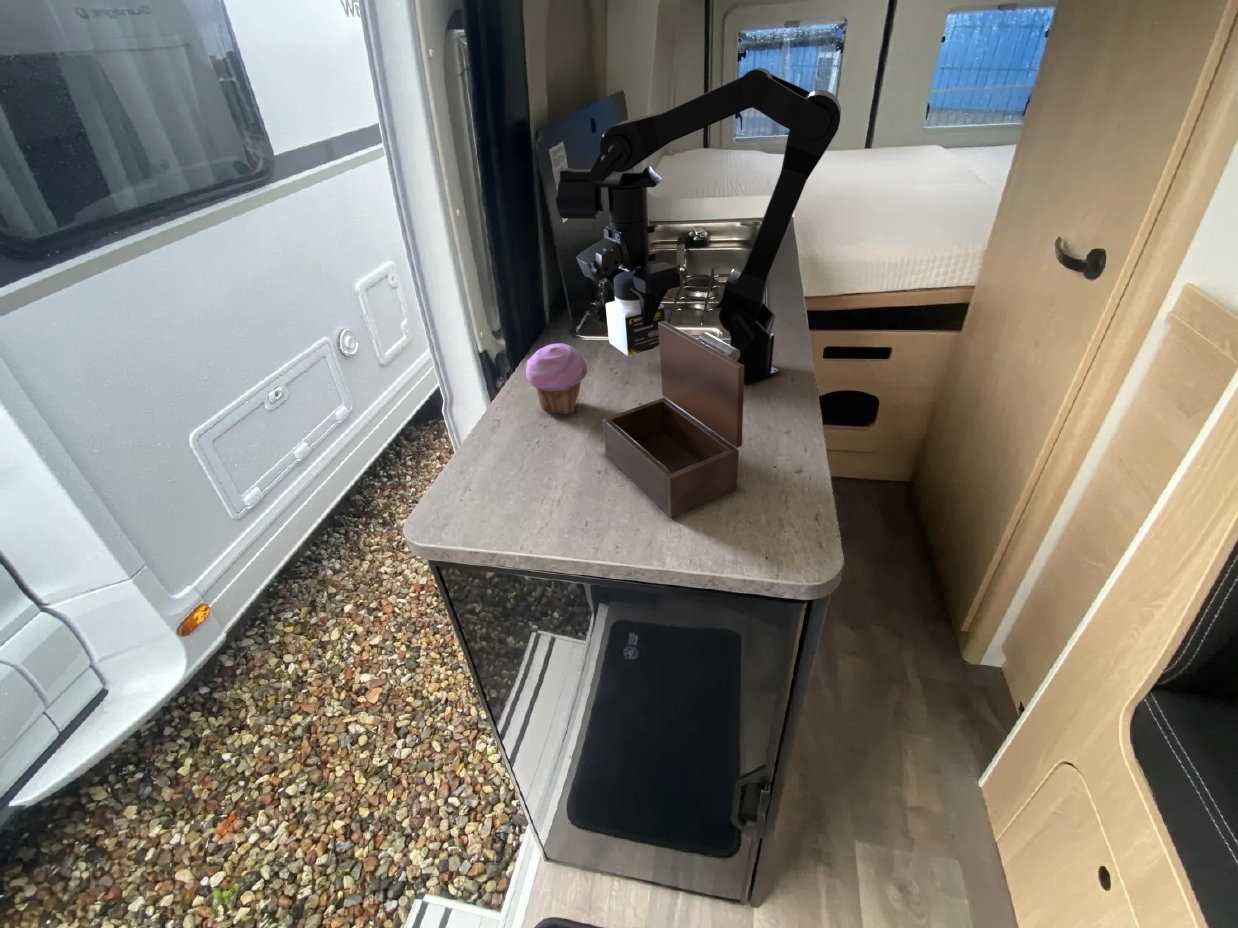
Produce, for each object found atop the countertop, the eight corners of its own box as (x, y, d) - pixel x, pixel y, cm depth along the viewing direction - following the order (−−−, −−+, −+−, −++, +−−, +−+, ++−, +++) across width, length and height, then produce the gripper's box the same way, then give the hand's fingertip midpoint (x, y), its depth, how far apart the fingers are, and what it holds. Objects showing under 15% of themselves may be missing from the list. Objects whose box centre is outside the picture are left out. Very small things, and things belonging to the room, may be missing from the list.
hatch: (738, 367, 64) (769, 355, 65) (657, 322, 75) (685, 312, 77) (736, 448, 70) (765, 435, 71) (662, 395, 81) (687, 385, 83)
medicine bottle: (628, 358, 98) (622, 284, 91) (608, 343, 103) (601, 273, 96) (666, 346, 100) (663, 274, 93) (645, 333, 105) (641, 263, 98)
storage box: (671, 519, 70) (670, 478, 67) (605, 456, 81) (602, 418, 78) (736, 489, 74) (739, 450, 70) (665, 433, 85) (664, 397, 82)
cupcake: (524, 420, 90) (513, 359, 84) (543, 392, 97) (534, 333, 91) (582, 424, 88) (575, 362, 83) (597, 395, 95) (591, 335, 89)
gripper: (553, 217, 94) (565, 314, 103) (613, 243, 80) (621, 351, 89) (615, 204, 98) (622, 298, 107) (682, 226, 84) (683, 332, 93)
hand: (634, 319), depth 99 cm, fingers closed on medicine bottle, 7 cm apart
